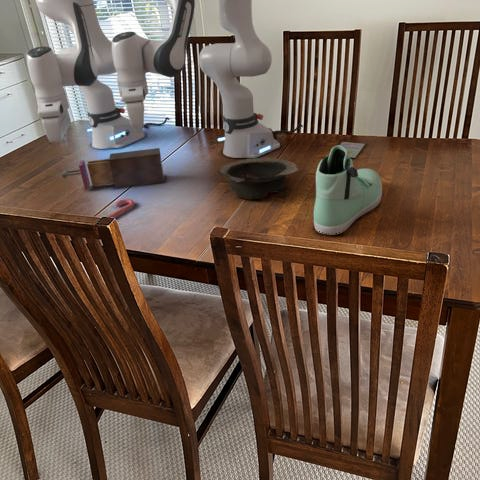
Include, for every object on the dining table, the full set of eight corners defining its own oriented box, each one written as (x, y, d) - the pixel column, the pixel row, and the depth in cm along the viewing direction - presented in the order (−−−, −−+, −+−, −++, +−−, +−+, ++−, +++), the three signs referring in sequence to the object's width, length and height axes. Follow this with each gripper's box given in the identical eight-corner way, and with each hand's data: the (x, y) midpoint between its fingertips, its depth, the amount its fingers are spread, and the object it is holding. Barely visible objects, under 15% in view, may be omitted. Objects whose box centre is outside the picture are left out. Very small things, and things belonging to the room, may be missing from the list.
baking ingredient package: (331, 154, 173) (342, 141, 184) (330, 155, 173) (342, 142, 185) (355, 156, 169) (365, 143, 181) (355, 158, 170) (365, 144, 181)
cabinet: (115, 188, 162) (108, 159, 157) (116, 181, 167) (110, 153, 162) (164, 182, 164) (159, 153, 159) (164, 175, 169) (159, 147, 163)
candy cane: (88, 221, 143) (87, 216, 143) (125, 200, 153) (124, 196, 153) (102, 225, 140) (101, 221, 139) (138, 204, 150) (137, 200, 150)
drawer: (65, 191, 161) (59, 168, 157) (68, 186, 165) (61, 162, 160) (131, 183, 163) (126, 159, 159) (131, 178, 167) (126, 155, 162)
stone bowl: (243, 213, 140) (240, 183, 136) (209, 189, 160) (205, 162, 156) (313, 190, 149) (312, 161, 144) (272, 170, 169) (270, 144, 165)
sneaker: (389, 187, 148) (396, 123, 138) (356, 242, 123) (361, 168, 112) (346, 181, 154) (350, 119, 144) (306, 232, 129) (307, 161, 118)
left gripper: (49, 96, 157) (60, 137, 164) (36, 114, 139) (49, 158, 146) (68, 94, 157) (78, 135, 164) (58, 111, 140) (70, 156, 147)
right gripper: (124, 82, 158) (132, 123, 165) (121, 98, 141) (130, 143, 148) (144, 80, 159) (150, 121, 166) (143, 96, 141) (150, 140, 149)
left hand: (64, 146), depth 155 cm, fingers closed
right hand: (141, 132), depth 157 cm, fingers open, 8 cm apart
